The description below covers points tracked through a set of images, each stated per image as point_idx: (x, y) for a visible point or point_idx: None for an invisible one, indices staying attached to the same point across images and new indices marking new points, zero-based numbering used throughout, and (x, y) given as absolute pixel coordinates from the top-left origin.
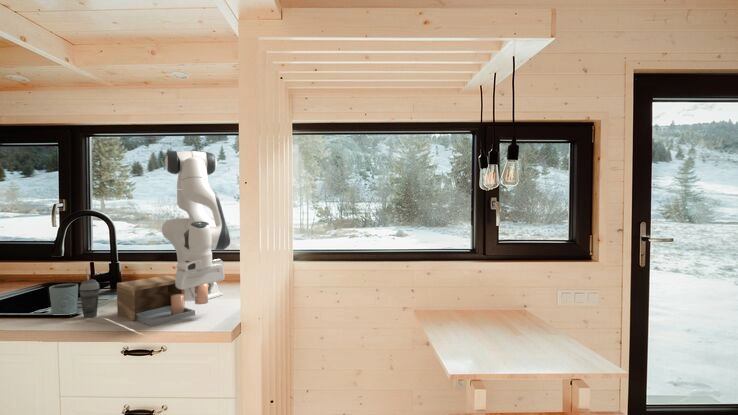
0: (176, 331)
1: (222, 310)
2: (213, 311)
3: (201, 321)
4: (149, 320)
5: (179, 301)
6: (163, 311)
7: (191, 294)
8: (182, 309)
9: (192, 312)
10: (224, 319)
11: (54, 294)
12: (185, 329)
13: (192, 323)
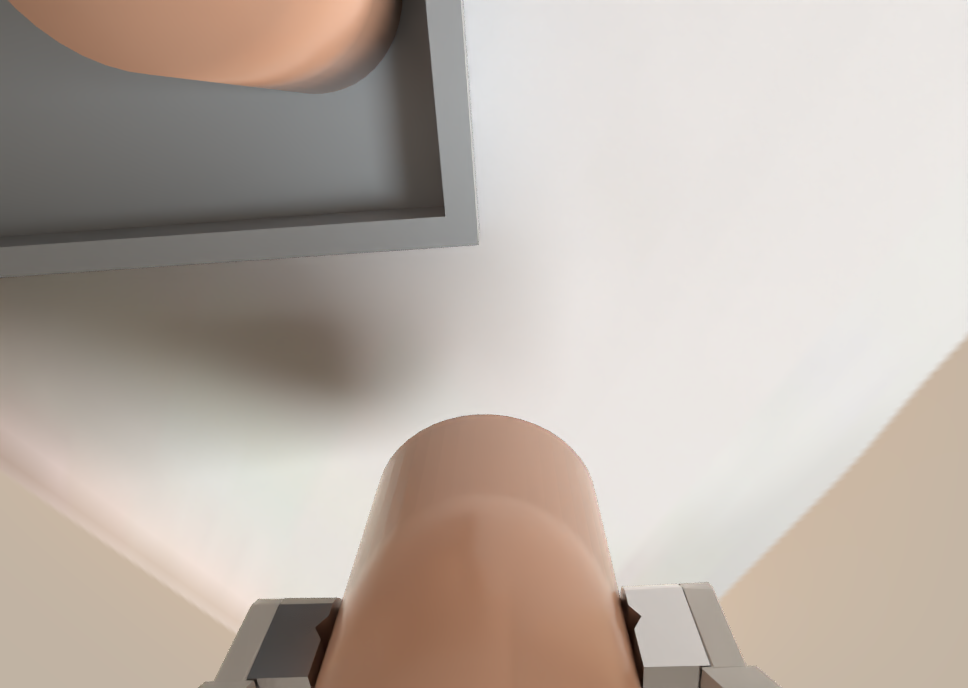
0: (128, 553)
1: (889, 224)
2: (785, 175)
3: None
4: None
5: (202, 80)
6: None
7: (233, 654)
8: (330, 78)
9: (436, 243)
10: (642, 548)
11: None
12: (215, 558)
13: (338, 446)
